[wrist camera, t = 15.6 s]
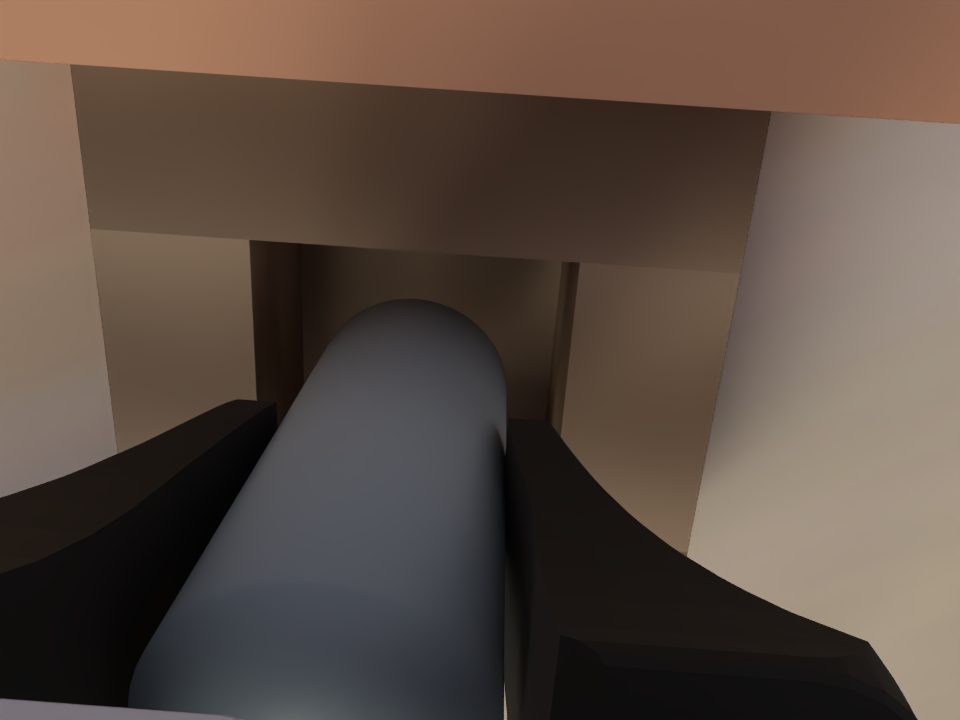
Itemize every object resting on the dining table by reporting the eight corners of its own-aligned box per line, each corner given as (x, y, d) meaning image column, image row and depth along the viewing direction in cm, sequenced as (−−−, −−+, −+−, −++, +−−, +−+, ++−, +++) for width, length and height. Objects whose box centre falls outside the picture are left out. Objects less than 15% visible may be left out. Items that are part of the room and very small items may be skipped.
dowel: (500, 476, 15) (490, 878, 8) (321, 464, 15) (146, 851, 8) (513, 306, 14) (519, 595, 7) (318, 291, 14) (106, 567, 7)
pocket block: (634, 535, 21) (666, 661, 16) (213, 506, 21) (138, 622, 16) (705, 90, 16) (772, 105, 12) (180, 55, 17) (69, 58, 12)
